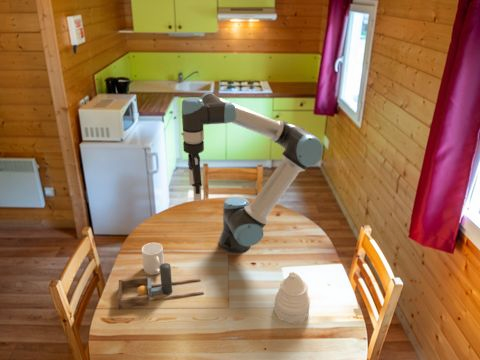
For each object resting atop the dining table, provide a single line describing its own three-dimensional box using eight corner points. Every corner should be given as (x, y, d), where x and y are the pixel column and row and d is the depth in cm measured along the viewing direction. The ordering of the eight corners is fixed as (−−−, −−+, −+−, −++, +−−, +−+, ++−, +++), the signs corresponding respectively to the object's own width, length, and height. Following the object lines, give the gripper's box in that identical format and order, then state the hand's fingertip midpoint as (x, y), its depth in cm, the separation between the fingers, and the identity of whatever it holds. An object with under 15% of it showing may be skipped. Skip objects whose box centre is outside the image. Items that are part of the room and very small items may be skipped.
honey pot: (300, 328, 141) (304, 288, 133) (268, 313, 147) (270, 275, 139) (314, 306, 151) (318, 268, 143) (283, 293, 157) (286, 256, 149)
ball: (138, 283, 154) (136, 291, 156) (138, 290, 151) (136, 298, 152) (148, 283, 155) (146, 291, 157) (148, 290, 152) (146, 298, 153)
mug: (150, 282, 161) (148, 261, 157) (140, 266, 170) (138, 246, 166) (170, 275, 165) (168, 254, 161) (160, 260, 174) (158, 240, 170)
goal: (148, 284, 160) (147, 276, 159) (149, 304, 150) (148, 296, 148) (120, 288, 158) (118, 280, 156) (118, 309, 147) (117, 301, 146)
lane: (200, 279, 163) (200, 278, 163) (203, 293, 156) (203, 292, 156) (148, 286, 159) (148, 285, 159) (148, 301, 151) (148, 300, 151)
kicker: (171, 285, 160) (169, 261, 154) (172, 295, 154) (171, 270, 149) (148, 288, 158) (145, 264, 152) (148, 298, 152) (146, 273, 147)
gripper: (179, 130, 155) (182, 179, 165) (187, 153, 134) (189, 208, 143) (198, 129, 157) (200, 178, 166) (209, 152, 135) (209, 206, 144)
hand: (195, 192), depth 154 cm, fingers open, 13 cm apart
